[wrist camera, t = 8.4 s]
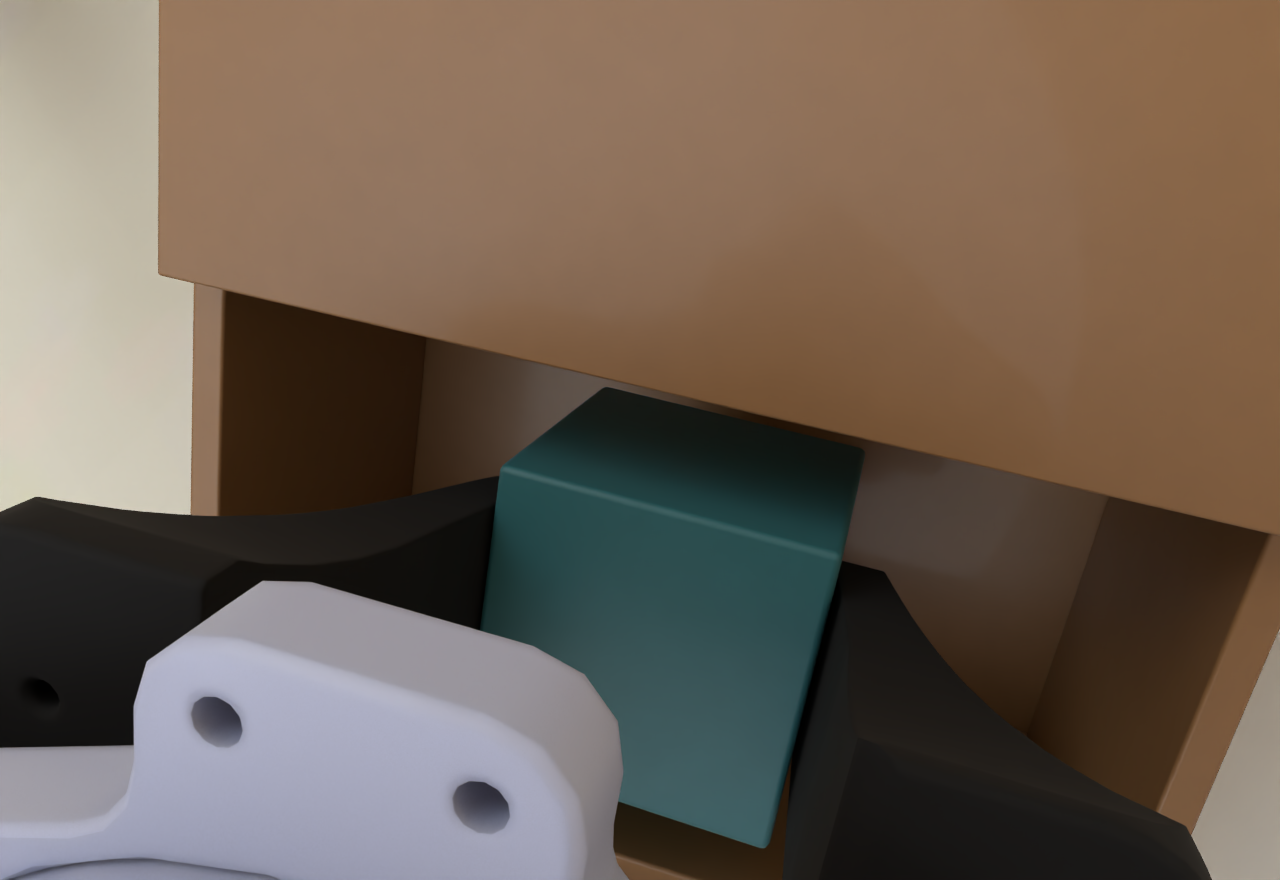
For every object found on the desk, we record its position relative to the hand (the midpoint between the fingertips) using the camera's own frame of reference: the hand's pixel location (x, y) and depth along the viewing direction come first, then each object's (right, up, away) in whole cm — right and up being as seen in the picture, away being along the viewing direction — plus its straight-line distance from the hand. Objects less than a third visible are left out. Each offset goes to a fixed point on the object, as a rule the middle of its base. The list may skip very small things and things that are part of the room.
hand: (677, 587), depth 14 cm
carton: (+2, +4, +3) cm, 6 cm away
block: (0, +1, +2) cm, 2 cm away
